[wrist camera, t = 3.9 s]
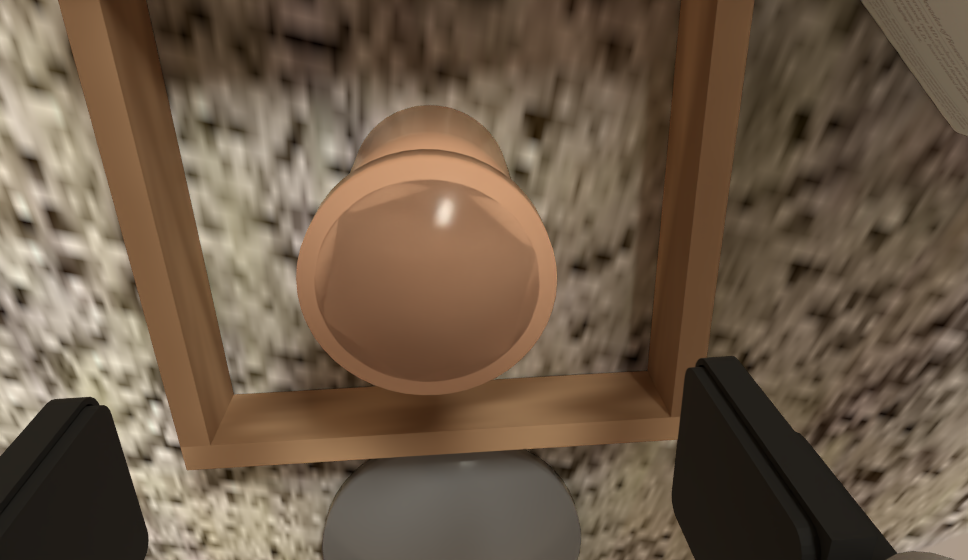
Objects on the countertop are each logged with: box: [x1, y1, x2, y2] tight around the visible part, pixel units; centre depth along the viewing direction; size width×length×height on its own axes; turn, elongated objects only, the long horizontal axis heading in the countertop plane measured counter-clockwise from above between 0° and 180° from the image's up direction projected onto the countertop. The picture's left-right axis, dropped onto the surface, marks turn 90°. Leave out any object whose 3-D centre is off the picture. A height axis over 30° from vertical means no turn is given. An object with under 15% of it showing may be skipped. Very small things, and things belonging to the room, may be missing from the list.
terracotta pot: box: [296, 105, 557, 395], centre depth 19 cm, size 6×6×8 cm
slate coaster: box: [322, 449, 581, 560], centre depth 30 cm, size 11×11×1 cm
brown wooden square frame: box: [58, 0, 754, 470], centre depth 21 cm, size 18×18×4 cm
